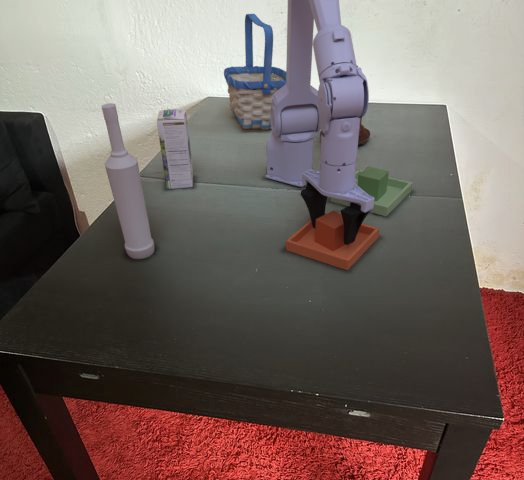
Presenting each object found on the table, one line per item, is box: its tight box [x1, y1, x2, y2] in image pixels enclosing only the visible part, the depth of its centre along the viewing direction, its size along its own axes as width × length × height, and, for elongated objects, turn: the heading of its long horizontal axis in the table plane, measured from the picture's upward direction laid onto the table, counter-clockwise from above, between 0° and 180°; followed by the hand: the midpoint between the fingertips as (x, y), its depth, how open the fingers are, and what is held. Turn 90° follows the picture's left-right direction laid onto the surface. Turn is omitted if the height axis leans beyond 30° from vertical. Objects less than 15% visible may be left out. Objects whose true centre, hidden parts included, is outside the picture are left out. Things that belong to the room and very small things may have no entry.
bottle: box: [101, 102, 156, 260], centre depth 86 cm, size 5×5×25 cm
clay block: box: [315, 210, 346, 251], centre depth 92 cm, size 4×4×4 cm
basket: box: [223, 13, 286, 131], centre depth 132 cm, size 21×16×24 cm
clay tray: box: [285, 212, 381, 271], centre depth 93 cm, size 12×12×2 cm
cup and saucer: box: [319, 116, 371, 146], centre depth 126 cm, size 12×12×6 cm
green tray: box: [329, 169, 413, 217], centre depth 106 cm, size 12×12×2 cm
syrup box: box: [156, 108, 194, 190], centre depth 109 cm, size 6×6×14 cm
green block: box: [358, 166, 390, 201], centre depth 105 cm, size 4×4×4 cm
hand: (333, 234), depth 93 cm, fingers open, 7 cm apart
